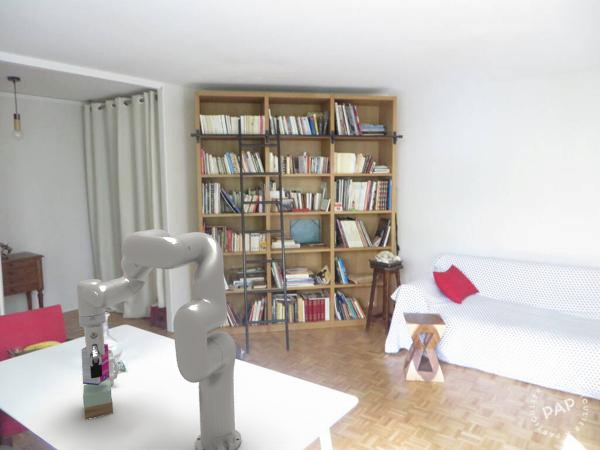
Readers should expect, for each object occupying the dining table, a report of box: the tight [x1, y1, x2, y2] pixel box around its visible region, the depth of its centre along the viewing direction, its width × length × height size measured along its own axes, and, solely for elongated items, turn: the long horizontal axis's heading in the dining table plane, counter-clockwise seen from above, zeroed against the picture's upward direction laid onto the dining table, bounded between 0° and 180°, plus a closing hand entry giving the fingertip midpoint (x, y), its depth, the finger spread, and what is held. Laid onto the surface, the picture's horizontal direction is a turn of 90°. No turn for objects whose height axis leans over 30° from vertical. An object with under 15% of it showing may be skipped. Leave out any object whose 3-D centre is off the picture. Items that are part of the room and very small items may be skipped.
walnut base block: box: [84, 401, 114, 420], centre depth 140 cm, size 8×8×4 cm
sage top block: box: [82, 380, 113, 409], centre depth 140 cm, size 8×8×4 cm
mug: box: [105, 348, 120, 387], centre depth 157 cm, size 10×7×12 cm, turn 70°
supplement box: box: [80, 343, 109, 385], centre depth 139 cm, size 6×6×12 cm
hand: (96, 371), depth 139 cm, fingers closed on supplement box, 7 cm apart
